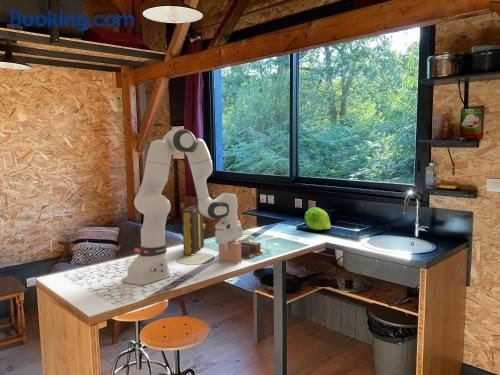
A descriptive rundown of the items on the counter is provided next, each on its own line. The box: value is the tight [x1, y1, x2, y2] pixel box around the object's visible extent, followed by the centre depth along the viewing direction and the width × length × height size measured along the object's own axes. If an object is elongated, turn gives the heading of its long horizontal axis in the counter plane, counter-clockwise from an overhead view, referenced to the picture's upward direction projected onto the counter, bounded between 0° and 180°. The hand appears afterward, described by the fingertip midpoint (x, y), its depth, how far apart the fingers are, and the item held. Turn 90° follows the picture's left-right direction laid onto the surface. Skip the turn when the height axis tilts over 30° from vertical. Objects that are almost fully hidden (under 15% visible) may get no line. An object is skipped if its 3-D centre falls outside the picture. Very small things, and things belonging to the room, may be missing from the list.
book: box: [181, 205, 206, 256], centre depth 238 cm, size 22×8×25 cm, turn 168°
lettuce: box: [304, 207, 332, 231], centre depth 290 cm, size 17×20×16 cm
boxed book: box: [218, 241, 242, 264], centre depth 217 cm, size 4×12×10 cm, turn 58°
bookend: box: [241, 245, 250, 256], centre depth 225 cm, size 1×12×5 cm, turn 58°
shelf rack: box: [236, 239, 264, 259], centre depth 229 cm, size 12×16×6 cm
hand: (229, 249), depth 217 cm, fingers closed on boxed book, 3 cm apart
